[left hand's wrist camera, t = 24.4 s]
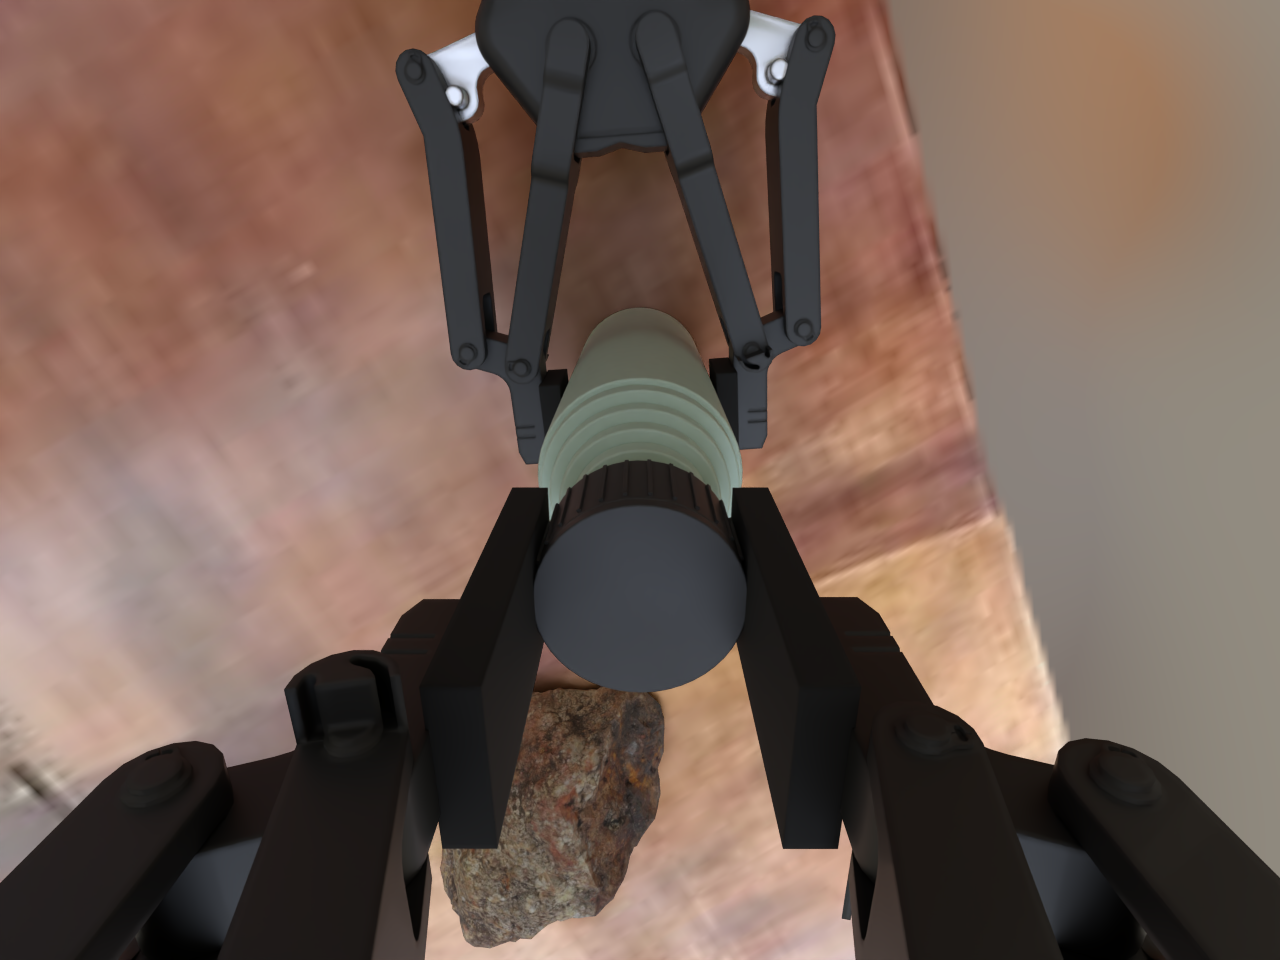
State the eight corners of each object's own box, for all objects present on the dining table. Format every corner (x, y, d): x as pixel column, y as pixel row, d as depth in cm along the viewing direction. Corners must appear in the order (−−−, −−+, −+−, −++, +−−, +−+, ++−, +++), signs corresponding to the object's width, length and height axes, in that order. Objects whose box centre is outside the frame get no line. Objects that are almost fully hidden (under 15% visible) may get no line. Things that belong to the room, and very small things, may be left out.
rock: (685, 779, 42) (644, 648, 38) (708, 909, 34) (661, 759, 30) (461, 838, 42) (400, 714, 39) (432, 981, 34) (353, 841, 31)
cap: (552, 628, 15) (538, 697, 13) (538, 459, 14) (519, 505, 12) (732, 624, 15) (748, 693, 13) (737, 454, 14) (756, 499, 12)
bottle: (580, 422, 33) (501, 696, 14) (581, 304, 31) (490, 442, 12) (695, 427, 33) (767, 705, 14) (703, 309, 31) (801, 453, 12)
